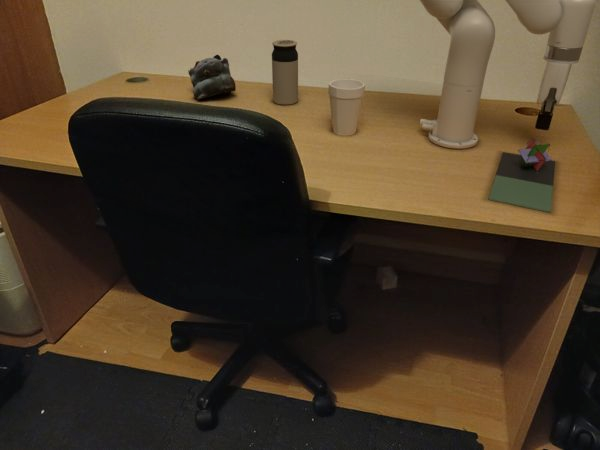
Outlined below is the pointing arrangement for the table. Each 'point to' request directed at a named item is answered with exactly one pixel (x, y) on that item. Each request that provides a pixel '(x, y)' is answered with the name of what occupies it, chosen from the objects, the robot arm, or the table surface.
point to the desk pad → (523, 183)
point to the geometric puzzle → (534, 154)
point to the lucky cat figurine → (211, 77)
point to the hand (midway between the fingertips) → (541, 128)
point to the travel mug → (285, 72)
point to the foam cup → (345, 104)
